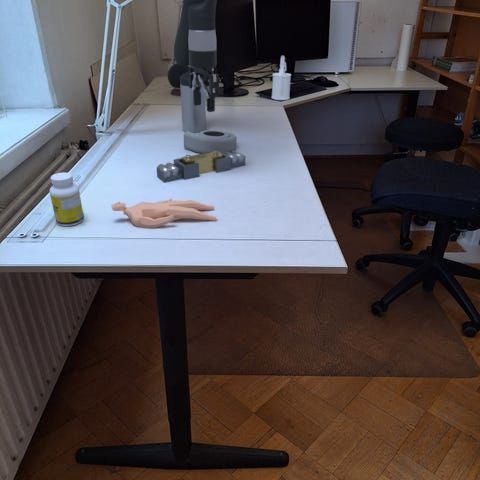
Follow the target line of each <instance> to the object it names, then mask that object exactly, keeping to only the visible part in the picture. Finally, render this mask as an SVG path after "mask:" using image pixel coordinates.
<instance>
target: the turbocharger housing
mask: <svg viewBox="0 0 480 480" xmlns="http://www.w3.org/2000/svg"><path fill="white" fill-rule="evenodd" d="M183 148H184V149H185V150H189V151H191V152H194V153H198V154H205V153H211V152H213V151H215V150H217V151H221V152H222V153H225V152H231V151H232V150H235V149H236V148H237V136H236V135H235V134H234V133H232V132H230V131H225V130H216V129H210V130H209V129H206V130H205V131H201V132H198V133H196V132H190V131H184V134H183Z"/></svg>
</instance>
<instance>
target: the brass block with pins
mask: <svg viewBox="0 0 480 480" xmlns="http://www.w3.org/2000/svg"><path fill="white" fill-rule="evenodd" d="M181 158H182V163H183V164H184V165H188V164H194V163H199V175H201V174H206V173H212V172H215V159H219V158H223V155H222V154H221V153H219V152H218V151H217V150H215V151H213V152H211V153H205V154H203V153H198V154H192V155H191V154H186V155H185V156H181Z"/></svg>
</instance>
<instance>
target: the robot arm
mask: <svg viewBox="0 0 480 480" xmlns="http://www.w3.org/2000/svg"><path fill="white" fill-rule="evenodd" d="M217 3H218V0H183V1H182V5H181V6H182V7H181V13H180V19H179V23H178V26H177V30H176V31H177V32H176V34H175V35H176V36H175V40H174V43H173V57H174V61H175V64H179V65H188V66H189V71H188V72H187V73H185V74H183V75H182V76H181V77H180V88H181V96H180V101H181V122H182V123H181V125H182V131H184V132H186V131H190V132H192V133H199V132H201V131H205V130H207V113H206V111H207V112H208V113H213V112H215V110H216V104H215V103H216V100H215V99H216V98H219V97H220V79H219V78H220V76H219V74H218V73H213V68H215V67H216V66H217V61H218V60H217V35H216V8H217Z"/></svg>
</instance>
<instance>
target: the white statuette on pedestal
mask: <svg viewBox="0 0 480 480" xmlns="http://www.w3.org/2000/svg"><path fill="white" fill-rule="evenodd" d="M291 76H292V74H291V73H288V72H287V62H286V57H285V55H281V56H280V64H279V69H278V72H274V73H272V90H271V99H273V100H276V101H286V100H290V98H291V97H290V91H291V78H292V77H291Z"/></svg>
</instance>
